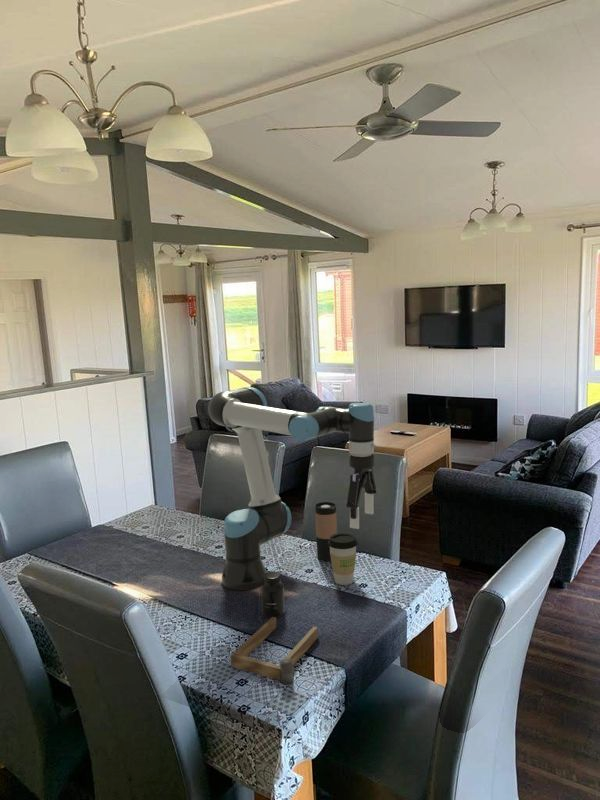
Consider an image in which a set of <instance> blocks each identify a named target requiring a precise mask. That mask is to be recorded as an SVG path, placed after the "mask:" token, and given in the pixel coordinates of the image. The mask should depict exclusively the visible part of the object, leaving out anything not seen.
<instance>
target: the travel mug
mask: <svg viewBox="0 0 600 800" xmlns="http://www.w3.org/2000/svg"><path fill="white" fill-rule="evenodd" d="M314 508H315V509H314V510H315V540H316V552H317V555H316V556H317V559H318V561H320V562H327V563H328V562H331V556H330V546H329V545H328V541H329V540H330V537H331V536H332V535H334V534H338V527H337V525H338V524H337V505H336V504H335V503H334V502H330V501H329V502H327V501H324V502H322V501H321V502H318V503H316V504H315V507H314Z"/></svg>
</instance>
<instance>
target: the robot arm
mask: <svg viewBox="0 0 600 800" xmlns="http://www.w3.org/2000/svg"><path fill="white" fill-rule="evenodd" d="M207 410H208V411H207V412H208V416H209V418H210V419H211V420H212V422H214V423H215V424H216V425H219V426H222V427H227V428H231V430H232V431H234V432H235V433H236V434H237V437H238V441H239V448H240V453H241V456H242V461H243V465H244V466H243V467H244V470H245V471H244V472H245V475H246V478H247V479H246V480H247V484H248V489H249V493H250V501H249V503H248V508H243V509H238V510H235V511H232V512H230V513H229V514H228V515H226V517H225V519H224V523H223V535H224V547H225V549H224V550H225V564H224V567H223V571H222V573H221V574H222V575H221V583H222V585H223V586H224V587H225V588H226V589H228V590H229V589H230V590H233V591H249V590H253V589H256V588H260V587H261V586H262V584H263V583H264V575H265V574H266V573H267V570H266V568H265V565H264V563H263V561H262V557H261V545H263V544H266V543H267V542H269V541H271V540H274V539H277V538H279V537H281V536H282V535H284V534H285V533H286V532H287V531H288V530H289V529H290V527H291V525H292V514H291V513H292V512H291V509H290V508H289V506H287V504H286V503H285V502H283V501H282V499H281V497H280V495H277V494H276V491H275V486H274V481H273V477H272V472H271V468H270V464H269V460H268V459H269V458H268V455H267V454H268V453H267V449H266V444H265V440H264V436H263V431H264V432H265V431H266V432H270V433H277V434H281V435H287V436H291V437H292V438H293V439H294V440H296V441H297V442H304V441H306V442H307V441H311V440H314V439H315V438H316V439H317V438H319V437H322V436H325V435H328V434H332V433H343V434H348V453H349V455H348V456H349V458H348V459H349V461H348V462H349V463H348V464H349V467H351V468H353V469H354V472H353V473H350V476H349V477H350V478H349V487H348V492H347V501H346V508H349V528H350V529H357V530H359V529H360V507H359V503H360V498H361V494H362V490H363V488H364V490H365V493H364V514H367V515H374V514H375V513H374V507H375V506H374V505H375V504H374V498H375V497H374V494H377V490H376V489H377V486H376V485H377V484H376V481H375V476H374V468H373V467H374V466H375V455H374V452H375V447H376V444H375V438H374V437H375V436H374V434H375V431H374V430H375V428H374V427H375V416H374V415H375V412H374V406H373V404H371V403H369V402H352V403H350V404H349V406H348V408H345V407H344V408H343V407H334V406H331V405H329V406H319V407H318V408H317V409H316V410H315V411H313V412H303V411H298V410H290V409H285V408H278V407H272V406H268V402H267V399H266V397H265V395H264V393H262V391H260V390H259V389H257V388H255V387H241V388H236V389H231V390H226V391H225V390H224V391H220V392H218V393H216V394H215V395H213V396H212V397H211V399H210V400H209V402H208V406H207Z"/></svg>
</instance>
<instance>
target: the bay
mask: <svg viewBox="0 0 600 800" xmlns="http://www.w3.org/2000/svg"><path fill="white" fill-rule="evenodd" d="M276 629H277V617H272V618H269V620H267V621H266V622H265V623H264V624H263V625H262V626H261V627H260V628H258V629H257V631H255V633H253V634H252V635H251V636H250V637H249V638H248V639H247V640H246V641H244V642H243V644H242V645H240V647H238V648H237V649H235V651H234V652H233V653H231V655H230V664H231V665H230V667H233V668H236V669H239V670H243V671H246V672H250V673H254V674H256V675H259V676H263V677H267V678H270V679H272V680H273V679H274V680H277V681H280V682H281V684H283V685H291V684H292V683H294V668H293V667H294V666H295V665H296V663H297V662H299V660H300V659H301V658H302V657H303V656H304V654H305V653H306V652H307V651H308V650H309V649H310V647H311V646H312V645H313V644H314V643H315V642H316V641H317V639H318V638H319V629H318V626H312V628H311V629H310V630H309V631H308V632H307V633H306V634H305V635H304V636H303V637H302V638H301V640H300V641H299V642H298V643H297V644H296V645H295V646H294V648H292V650H291V651H290V652H289V653H288V654H287V655H286V656H285V657H284V658H282V659H281V660H280V662H279V664H276V663H275V664H274V663H271V662H267V661H264V660H261V659H256V658H253V657H249V655H250V654H251V653H252V652H253V651H254V650H255V649H256V648H257V647H259V645H260V644H262V642H263V641H265V639H266V638H268V636H269V635H271V633H272V632H274V631H275V630H276Z"/></svg>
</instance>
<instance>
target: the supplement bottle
mask: <svg viewBox="0 0 600 800" xmlns="http://www.w3.org/2000/svg"><path fill="white" fill-rule="evenodd" d="M260 587H261V588H260V589H261V590H260V591H261V594H260V595H261V613H262V615H263V616H264V617H266V618H269V619H271V618H272V617H276V618H279V617H281V616H283V615H284V613H285V586H284V584H283V582H282V581H281V574H280V573H279V572H276V571H270V572H269V571H268V572H266V574H265V575H264V583H263V584H262V585H261V586H260Z"/></svg>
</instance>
